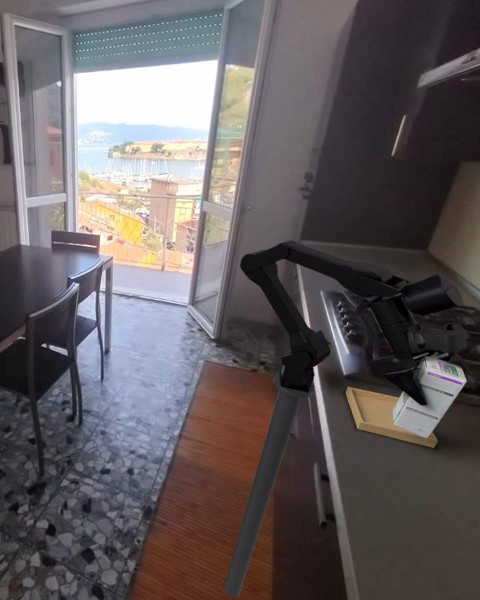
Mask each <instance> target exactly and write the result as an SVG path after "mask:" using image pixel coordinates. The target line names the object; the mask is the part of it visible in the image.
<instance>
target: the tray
mask: <svg viewBox="0 0 480 600" xmlns="http://www.w3.org/2000/svg"><path fill="white" fill-rule="evenodd" d="M345 395H346V398H347V399H346V400H347V401H348V404H349V408H350V410H351V411H350V412H352V417H353V419H354V423H355V425H356V429H357V430H360V431H364V432H368V433H371V434H372V433H373V434H377V435H381V436H385V437H387V438H388V437H389V438H392V439H395V440H401V441H404V442H409V443H412V444H415V445H416V444H417V445H420V446H425V447H428V448H433V449H435V447H436V445H437V444H438V442H439V441H438V438H437V437H436V435H435V433H434V431H433V432H432V433H431V434H430V436H429V437H428V438H424V437H421V436H419V435H416V434H414V433H411V432H409V431H406V430H404V429H402V428H399V427H397V426H395V425H393V418H392V409H393V407H394V406H395V404H396V402H397V401H398V399H399V396H393V395H388V394H383V393H379V392H375V391H370V390H365V389H360V388H356V387H351V386H347V388H346V390H345Z"/></svg>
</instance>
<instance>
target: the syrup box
mask: <svg viewBox="0 0 480 600" xmlns="http://www.w3.org/2000/svg"><path fill="white" fill-rule="evenodd" d="M420 361H421V363H420V364H419V366H418V365H417V368H420V367H421V371H420V373H419V375H418V379H419V382H420V384H421V387H422V389H423V391H424V394H425V396H426V399H427V403H428V405H425V406H421V405H419V404H418V403H417V402H416V401H415V400H413V399H412V398H411V397H410V396H408V395H407V394H406V393H405V392H403V391H402V392H401V394H400V395H399V396H398V398H399V399H398V401H397V402H396V404H395V406H394V407H393V409H392V418H393V425H395V426H397V427H399V428H402V429H404V430H406V431H409V432H411V433H414V434H416V435H419V436H421V437H424V438H428V437H429V436H430V434H431V433H432V432H433V433H434V431H435V429H436V428H437V426H438V425H439V423H440V421H442V419H443V417H444V416H445V414H446V413H447V412H448V410H449V408H450V407H451V406H452V404H453V402H454V401H455V400H456V398H457V397H458V395H459V394H460V392H461V391H462V390H463V388H464V387H465V385H466V384H467V382H468V381H467V380H468V379H467V378H466V375H465V373H464V371H463V368H462V366H460V365H457V364H454V363H453V362H452V363H449V362H446V361H442V360H439V359H435V358H431V357H427V356H425V357H424V358H423V359H422V360H420Z"/></svg>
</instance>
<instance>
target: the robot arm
mask: <svg viewBox="0 0 480 600" xmlns="http://www.w3.org/2000/svg"><path fill="white" fill-rule="evenodd" d="M282 260H286V261H288V262H291V263H293V264H296V265H299V266H301V267H304V268H306V269H308V270H311V271H314V272H316V273H319V274H321V275H323V276H327V277H329V278H331V279H332V280H335V281H337V283H339V285H341V286H342V288H344V289H346V290H347V291H349V292H351V293H352V294H354V295H356V296H358V297H359V298H360V302H359V304H358V305H357V306H356V310H357V311H364V310H368V309H369V310H370V313H371V315H372V316H373V319H374V320H375V322H376V325H377V326H378V328H379V330H380V332H379V333H376V335H377V337H378V338H379V339H384V340H385V342H386V344H387V345H388V347H389V349H390V351H389V352H386V354H387V356H382V357H378V358H376V359H372V360H369V363H368V365H367V368H368V370H369V372H370V373H371V376H380V378H382V379H386V380H387V381H388V382H390V383H391V384H393V385H394V386H396V387H397V388H398V389H399V390H401V391H402V392H405V393H406V394H407V395H408V396H410V397H411V398H412V399H413V400H415V401H416V402H417V403H418V404H419V405H421V406H425V405H428V403H427V399H426V396H425V394H424V391H423V389H422V387H421V384H420V382H419V379H418V375H419V373H420V371H421V367H420V368H418V366H419V364H420V363H421V361H422V359H423V358H424V357H425V356H427V357H431V358H435V359H439V360H442V361H446V362H449V363H452V364H453V361H454V360H455V359H456V358H457V357H458V353H459V352H461V351H463V350H466V349H467V339H470V338H471V335H470V334H469V333H467V329H465V328H464V327H463V326H462V325H461V323H459V322H449V323H446V324H444V325H443V327H442V328H435V329H434V328H432V329H431V328H430V329H429V328H428V327H427V325H426V323H424V322H422V321H421V322H417V321H416V319H415V318H414V316H413V314H414V315H419V316H422V317H425V316H428V315H433V314H437V313H440V312H444V311H448V310H452V309H456V308H459V307H462V306H463V305H464V299H463V296H462V295H461V292H460V290H459V289H458V287H457V286H456V284H453V283H452V282H451V281H450V280H449V279H447V278H445V277H444V276H443V274H442V273H441V272H436V273H434V274H431V275H429V276H427V277H425V278H421V279H419V280H416V281H411V280H409V279H406V278H404V277H401V276H399V275H396V274H393V273H392V272H391V270H390V269H389V268H388V267H386V266H384V265H380V264H374V263H369V262H363V261H351V260H347V259H343V258H340V257H337V256H335V255H331V254H329V253H326V252H323V251H320V250H318V249H315V248H312V247H309V246H306V245H304V244H300V243H298V242H297V241H294V240H292V239H291V240H286V241H282V242H280V243H278V244H277V245H274V246H272V247H270V248H268V249H259V250H256V251H253V252H249V253H247V254H244V255H243V256H242V258H241V260H240V263H239V267H240V270H241V272H242V273H243V274H244V275H245V276H246V278H247V279H248V280H249V281H251V282H252V283H253V284H255V285H256V286H258V287H259V288H260V289H261V291H262V293H263V295H264V296H265V298H266V300H267V301H268V303H269V305H270V306H271V308H272V310H273V312H274V313H275V316H276V317H277V318H278V321H280V323H281V325H282V327H283V328H284V330H285V331H286V333H287V335H288V344H289V350H290V351H289V352H288V353H286V354H285V355H283V356H281V357H280V360H281V365H282V369H281V371H279V372H280V373H279V372H278V373H279V375H280V386H282V387H285V388H289V389H294V390H298V391H303V392H307V393H308V392H309V387H311V385H312V384H313V381H314V378H315V376H316V374H315V367H316V366H318V365H320V364H321V363H323V362H324V361H325V360H327V359H328V358H329V357H330V354H331V347H330V345H331V342H330V341H328V339H327V338H326V336H325V334H324V332H323V330H322V329H319V330H317V331H315V330H314V329H312V328H311V327H309V326H308V324H307V323H306V321H305V319H304V317H303V315H301V313H300V311H299V310H298V308H297V306H296V304H295V303H294V301H293V300H292V298H291V296H290V295H289V293H288V292H287V290H286V288H285V287H284V285H283V283H282V282H281V279H280V278H279V270H278V264H277V262H279V261H282ZM416 365H417V367H416Z"/></svg>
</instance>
